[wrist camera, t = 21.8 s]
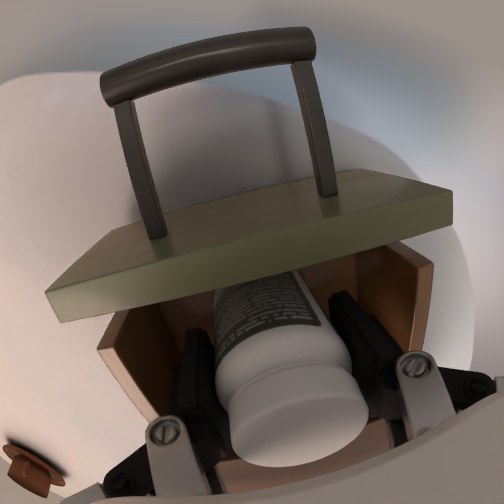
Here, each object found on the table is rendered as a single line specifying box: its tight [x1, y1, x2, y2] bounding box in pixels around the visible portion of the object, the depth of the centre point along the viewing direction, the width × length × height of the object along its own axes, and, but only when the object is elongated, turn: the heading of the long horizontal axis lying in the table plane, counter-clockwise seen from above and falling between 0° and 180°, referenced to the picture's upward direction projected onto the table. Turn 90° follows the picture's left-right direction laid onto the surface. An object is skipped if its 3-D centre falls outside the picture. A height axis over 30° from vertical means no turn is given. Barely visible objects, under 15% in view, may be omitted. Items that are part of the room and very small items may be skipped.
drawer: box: [45, 27, 453, 447], centre depth 12 cm, size 21×13×7 cm, turn 13°
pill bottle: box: [214, 269, 369, 467], centre depth 10 cm, size 5×5×8 cm
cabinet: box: [217, 415, 390, 494], centre depth 16 cm, size 16×15×9 cm
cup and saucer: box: [3, 445, 65, 498], centre depth 21 cm, size 12×12×6 cm
